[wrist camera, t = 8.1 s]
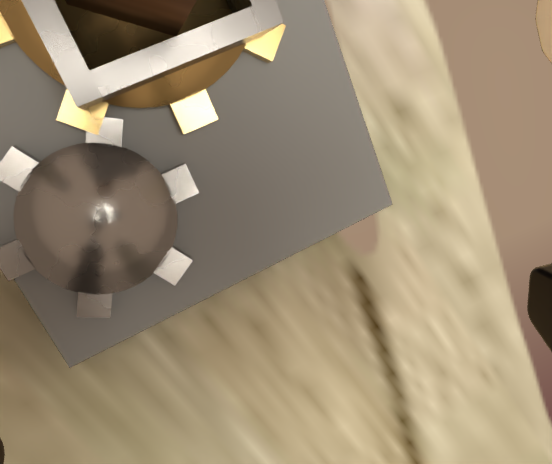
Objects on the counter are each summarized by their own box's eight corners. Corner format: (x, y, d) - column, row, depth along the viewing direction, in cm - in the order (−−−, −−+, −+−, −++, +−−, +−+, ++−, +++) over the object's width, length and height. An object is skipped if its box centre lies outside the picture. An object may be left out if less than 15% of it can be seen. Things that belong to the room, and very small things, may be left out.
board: (72, 356, 20) (69, 367, 19) (-229, -127, 15) (-252, -144, 14) (381, 201, 23) (392, 204, 22) (224, -257, 17) (230, -278, 16)
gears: (52, 340, 19) (39, 379, 16) (-242, -128, 14) (-340, -195, 11) (366, 186, 21) (404, 195, 18) (211, -257, 16) (229, -340, 13)
